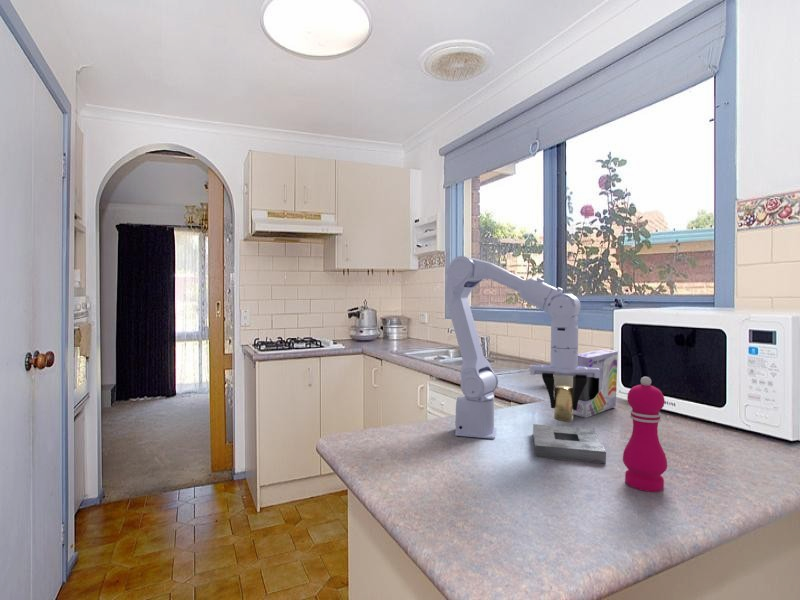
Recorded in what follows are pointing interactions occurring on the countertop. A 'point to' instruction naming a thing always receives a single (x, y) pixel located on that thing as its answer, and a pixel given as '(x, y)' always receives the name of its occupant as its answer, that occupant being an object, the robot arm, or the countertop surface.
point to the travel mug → (563, 380)
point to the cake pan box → (598, 383)
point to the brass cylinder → (563, 403)
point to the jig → (568, 443)
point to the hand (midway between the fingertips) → (563, 407)
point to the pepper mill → (645, 439)
